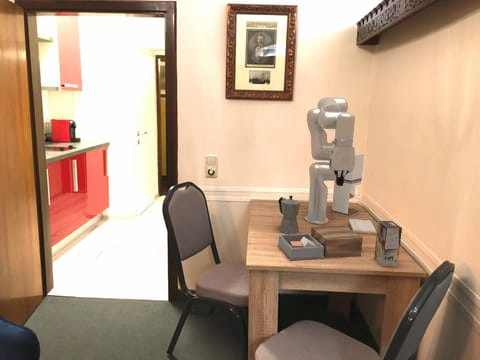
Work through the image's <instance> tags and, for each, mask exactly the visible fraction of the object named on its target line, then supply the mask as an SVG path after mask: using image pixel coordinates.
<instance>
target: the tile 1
mask: <svg viewBox="0 0 480 360" xmlns="http://www.w3.org/2000/svg"><path fill="white" fill-rule="evenodd" d="M290 246H291V247H292V248H303V247H304V246H303V244H302V243H301V242H300V241H290Z"/></svg>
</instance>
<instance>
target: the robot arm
mask: <svg viewBox="0 0 480 360" xmlns="http://www.w3.org/2000/svg"><path fill="white" fill-rule="evenodd" d="M348 103H349V102H348V101H347V99H346V98H344V97H334V96H333V97H331V96H328V97H322V98H321V99H319V101H318V103H317V107H315V108H311V109H309V110H308V111H307V113H306V124H307V128H308V131H309V133H310V148H311V149H310V152H311V158H312V159H313V160H315V161H317V162H313V163H311V164H310V165H309V168H308V172H309V193H308V194H309V195H308V209H307V215H306V216H304V221H306V222H307V223H310V224H316V225H323V224H327V223H329V217H327V208H328V207H327V206H328V194H329V188H328V186H327V185H326V184H325V182H327V181H328V182H330V181H331V182H332V181H333V182H334V181H336V184H337V185H338V186H343V184H344V177H345V176H346V175H347V174H348V173H350V172H353V169H354V167H355V154H356V150H355V147H354V146H353V145H354V135H355V134H354V133H355V123H356V116H355V115H354V114H353V113H350V112H348V110H349V104H348ZM326 130H335V131H334V139H333V140H331V142H329V141H328V133H327V132H326ZM320 161H321V162H320ZM322 161H323V162H322ZM325 161H327V162H325Z"/></svg>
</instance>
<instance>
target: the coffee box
mask: <svg viewBox="0 0 480 360" xmlns="http://www.w3.org/2000/svg"><path fill="white" fill-rule="evenodd" d="M376 227H377V229H376V234H375V235H376V236H375V245H374V247H375V249H374V258H373V259H375V260H376V261H377V262H378V263H379V265H381V266H382V267H398V266H399V265H398V264H399V257H400V248H401V241H402V232H403V227H401V226H400V225H398V223H395V221H393V220H378V221H377V226H376Z"/></svg>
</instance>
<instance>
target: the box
mask: <svg viewBox="0 0 480 360" xmlns="http://www.w3.org/2000/svg"><path fill="white" fill-rule="evenodd" d="M303 237H305V238H307V239H308V240H310V241H312V242H313V243H314V245H315V246H316V247H303V248H292V247H291V246H290V241H301V239H302V238H303ZM277 243H278V248H279V249H280V250H281V251H282V252H283V254H285V256H286V257H287V258H288V260H290V261H291V262H293V261H306V260H307V261H308V260H309V261H310V260H319V259H320V260H321V259H324V257H323V254H324V247H323V246H322V245H321V244H320V243H319V242H318V241H317V240H316V239H314V238H313V237H312V236H311V233H296V234H279V235H278V242H277Z"/></svg>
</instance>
